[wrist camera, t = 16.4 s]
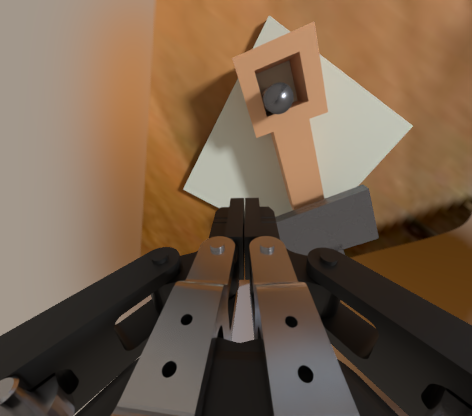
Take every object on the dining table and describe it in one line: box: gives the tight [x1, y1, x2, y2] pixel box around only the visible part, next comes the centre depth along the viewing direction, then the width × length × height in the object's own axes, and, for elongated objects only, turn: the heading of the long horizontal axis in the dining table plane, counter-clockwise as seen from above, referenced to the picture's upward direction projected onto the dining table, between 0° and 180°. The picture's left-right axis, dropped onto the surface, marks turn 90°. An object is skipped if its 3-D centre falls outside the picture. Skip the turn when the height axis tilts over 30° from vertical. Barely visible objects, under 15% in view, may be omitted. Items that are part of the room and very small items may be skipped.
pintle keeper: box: [261, 82, 379, 256], centre depth 22 cm, size 13×16×7 cm
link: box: [232, 21, 328, 210], centre depth 20 cm, size 15×6×4 cm, turn 20°
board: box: [183, 16, 413, 217], centre depth 23 cm, size 18×17×1 cm
